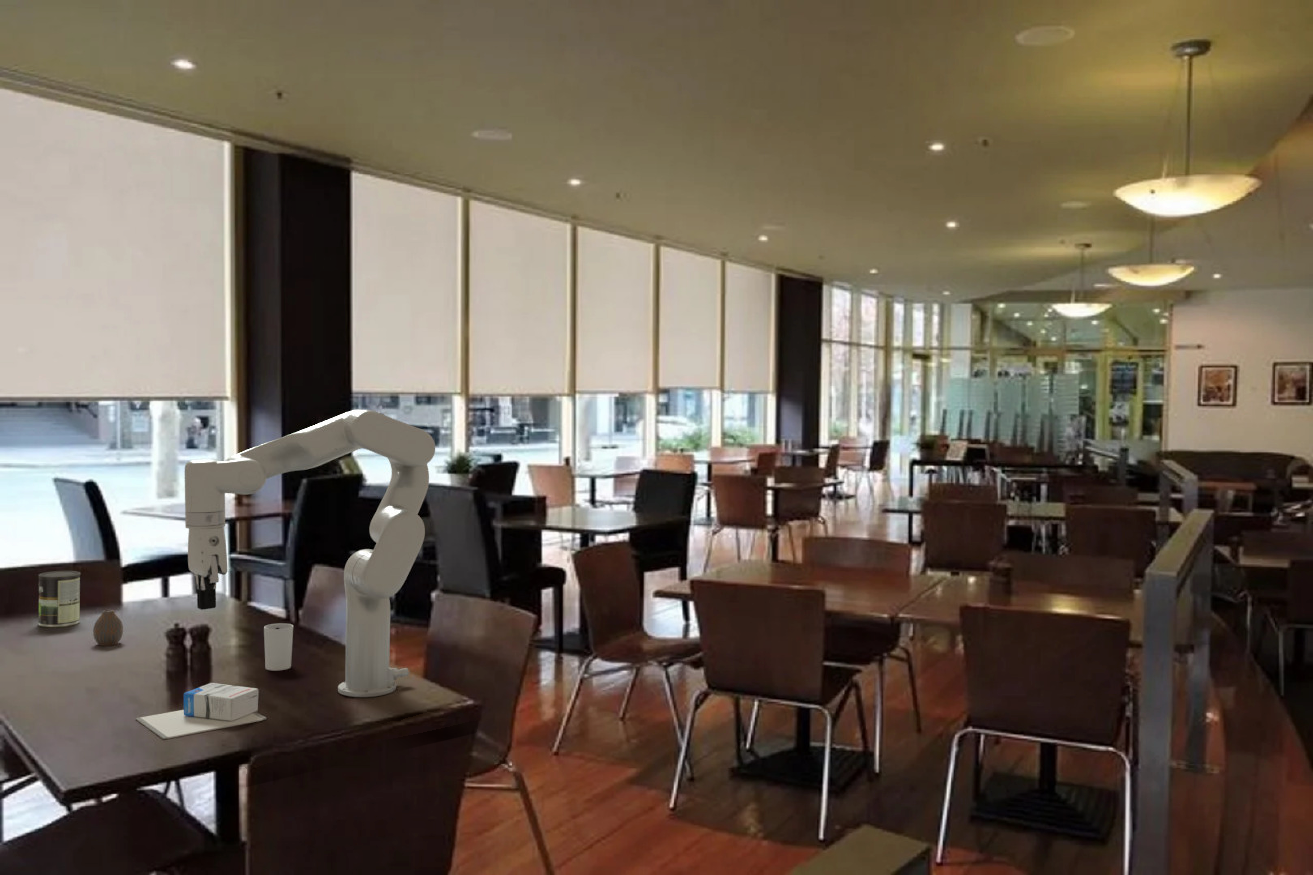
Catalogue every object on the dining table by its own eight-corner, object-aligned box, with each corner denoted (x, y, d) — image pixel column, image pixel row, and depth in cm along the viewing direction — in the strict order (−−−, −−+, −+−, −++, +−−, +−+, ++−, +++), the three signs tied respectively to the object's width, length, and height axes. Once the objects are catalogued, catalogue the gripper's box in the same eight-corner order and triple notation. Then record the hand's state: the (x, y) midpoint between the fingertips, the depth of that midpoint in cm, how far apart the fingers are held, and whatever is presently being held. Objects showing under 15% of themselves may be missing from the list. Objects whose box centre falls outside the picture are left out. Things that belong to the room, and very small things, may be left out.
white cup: (257, 668, 254) (257, 627, 253) (279, 662, 260) (279, 622, 259) (277, 672, 251) (277, 630, 250) (298, 666, 256) (299, 625, 256)
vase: (107, 648, 270) (107, 614, 270) (86, 645, 272) (87, 612, 272) (129, 642, 276) (129, 609, 276) (108, 640, 279) (108, 607, 278)
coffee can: (36, 628, 290) (36, 577, 290) (40, 621, 299) (40, 571, 299) (78, 625, 294) (79, 575, 294) (81, 618, 304) (81, 569, 303)
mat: (235, 701, 226) (235, 700, 226) (266, 719, 214) (266, 718, 214) (135, 719, 212) (135, 718, 212) (163, 739, 201) (163, 738, 201)
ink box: (182, 715, 214) (231, 723, 211) (183, 691, 214) (231, 698, 211) (212, 704, 222) (259, 711, 219) (212, 681, 222) (259, 687, 219)
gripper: (237, 521, 214) (238, 611, 215) (210, 514, 225) (212, 600, 226) (199, 524, 209) (200, 616, 210) (173, 517, 220) (175, 605, 221)
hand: (206, 608), depth 218 cm, fingers closed
